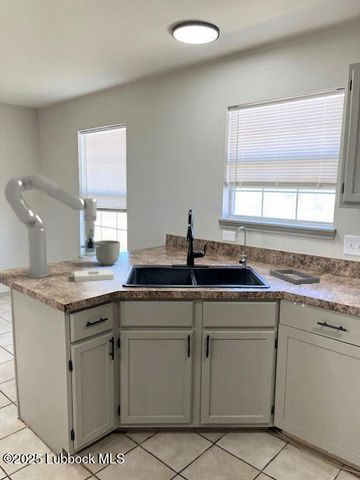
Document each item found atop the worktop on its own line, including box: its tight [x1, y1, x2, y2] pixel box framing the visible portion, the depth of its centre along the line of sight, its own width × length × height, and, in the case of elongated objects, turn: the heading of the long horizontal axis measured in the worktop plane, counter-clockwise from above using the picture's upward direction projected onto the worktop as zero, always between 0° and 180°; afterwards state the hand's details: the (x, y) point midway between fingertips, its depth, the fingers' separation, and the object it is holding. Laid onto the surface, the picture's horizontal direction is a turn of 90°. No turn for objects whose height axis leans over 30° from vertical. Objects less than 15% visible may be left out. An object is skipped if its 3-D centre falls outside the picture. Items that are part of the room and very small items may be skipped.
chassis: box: [73, 269, 115, 283], centre depth 218 cm, size 22×13×3 cm, turn 110°
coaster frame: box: [269, 268, 321, 285], centre depth 225 cm, size 17×26×4 cm, turn 20°
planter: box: [94, 239, 121, 267], centre depth 254 cm, size 17×17×16 cm
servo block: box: [80, 239, 99, 253], centre depth 228 cm, size 11×4×7 cm, turn 110°
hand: (89, 247), depth 228 cm, fingers closed on servo block, 4 cm apart
